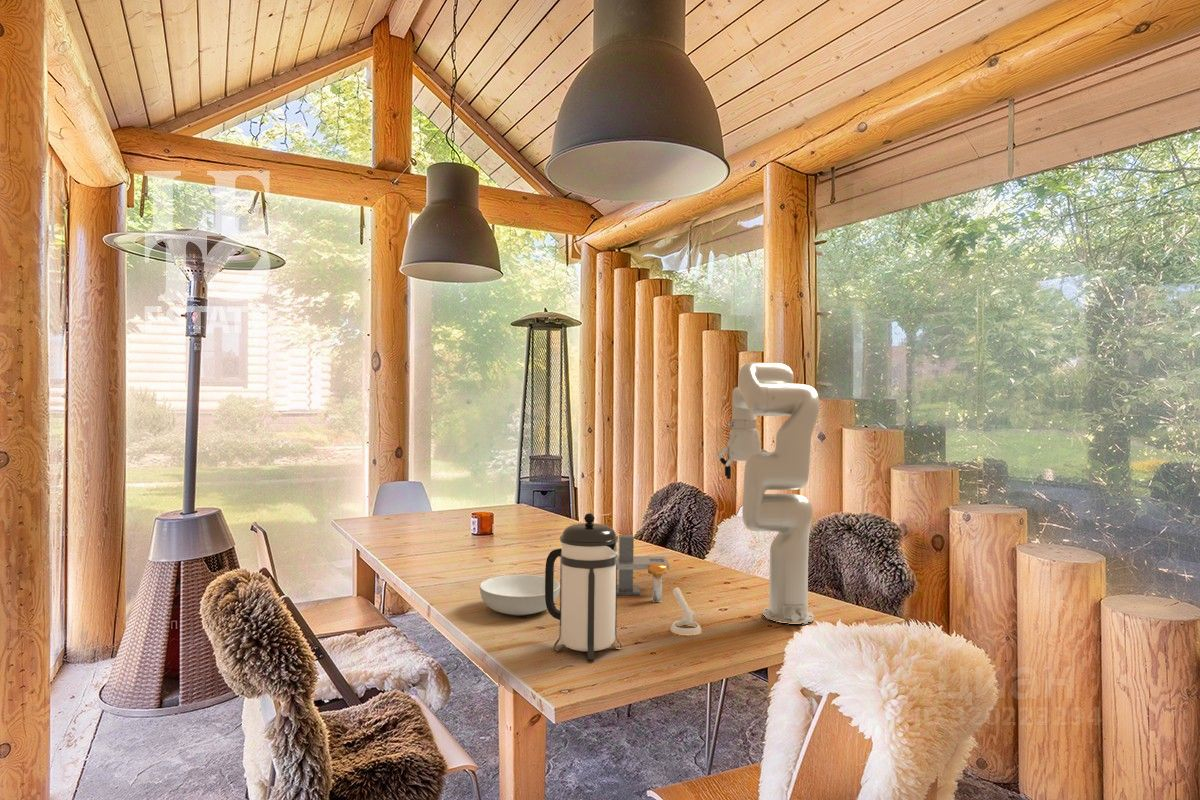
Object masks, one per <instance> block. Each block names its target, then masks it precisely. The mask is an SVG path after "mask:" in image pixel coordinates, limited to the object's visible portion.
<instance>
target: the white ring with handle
mask: <svg viewBox="0 0 1200 800" xmlns="http://www.w3.org/2000/svg"><path fill="white" fill-rule="evenodd" d="M672 595H674V598H675V600H676V602H677V604H678V606H679V608H680V609H681V611H682V617H681V619H680V620H676V621H674V622H673V623H672V624H671V626H670V628H669V631H670V630H671V631H673V632H675V633H681V634H693V633H698V632H700V631H701V630H702V627H701V625H700V624H699V622H696V621H694V619H695V618H696V613H694V611H695V610H694V609H693V610H692V609H691V608H690V606H689V604H688V603H687V600H686V599H685V596H684V595H683V593H682V591H681V589H680V587H677V586H676V587H675V588H673V589H672ZM678 625H692V626H696V627H695V628H694V627H688V628H687V627H686V628H685V627H681V626H679V627H677V626H678Z"/></svg>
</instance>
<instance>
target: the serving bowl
mask: <svg viewBox="0 0 1200 800" xmlns="http://www.w3.org/2000/svg"><path fill="white" fill-rule="evenodd" d="M479 591H480V595H481V599H482V601H483V602H484V604H485V605H486V606H487V607H488V608H489V609H491V610H493V611H495V612H498V613H501V614H504V615H511V616H528V615H533V614H536V613H537V614H538V613H540V612H543V611H546V610H548V609H547V607H546V602H545V575H537V574H525V573H524V574H522V573H521V574H520V573H519V574H505V575H500V576H494V577H490V578H487V579H485V580H483V581H482V582H481V583H480V584H479ZM559 595H560V581H557V580H556V579H554V581H553V600H554V603H555V602H556V601H557V599H558V597H559Z"/></svg>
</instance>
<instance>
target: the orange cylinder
mask: <svg viewBox="0 0 1200 800" xmlns="http://www.w3.org/2000/svg"><path fill="white" fill-rule="evenodd" d="M647 573H648V574H650V575H652V601H654V602H660V601H662V602H663V575H666V574H668V570H667V565H666V564H663V563H650V564H648V570H647ZM652 601H651V602H652ZM654 602H653V603H654Z"/></svg>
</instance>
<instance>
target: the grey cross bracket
mask: <svg viewBox="0 0 1200 800" xmlns="http://www.w3.org/2000/svg"><path fill="white" fill-rule="evenodd" d="M634 539H635V537H634V535H633V534H618V555H617V596H641V593H642V592H641V589H640V587H639V584H634V571H635V570H636V571H637V570H642V571H643V570H645V571H648V564H650V563H663V564H666V565H667V571H669V570H670V562H668V559H667V558H666V557H665V556H660V555H659V556H652V555H650V556H646V555H645V556H643V555H642V556H639V555H638V556H636V555H634V546H635V545H634V542H635V541H634Z"/></svg>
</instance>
